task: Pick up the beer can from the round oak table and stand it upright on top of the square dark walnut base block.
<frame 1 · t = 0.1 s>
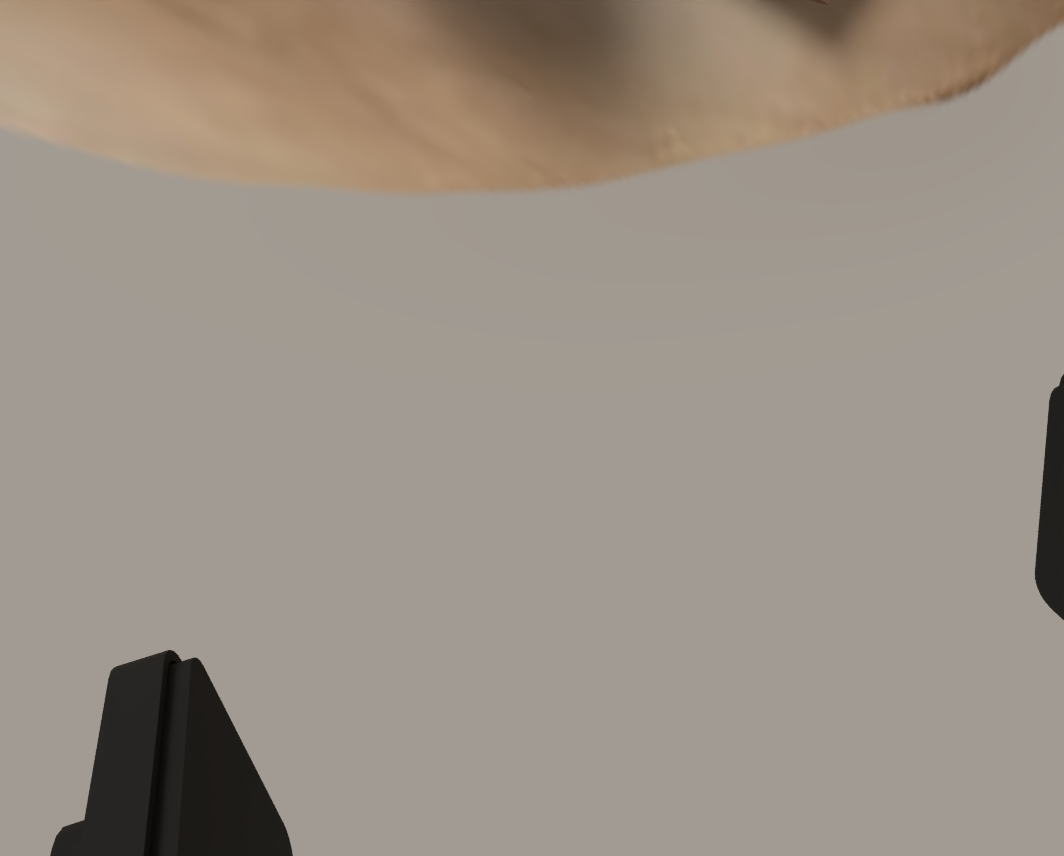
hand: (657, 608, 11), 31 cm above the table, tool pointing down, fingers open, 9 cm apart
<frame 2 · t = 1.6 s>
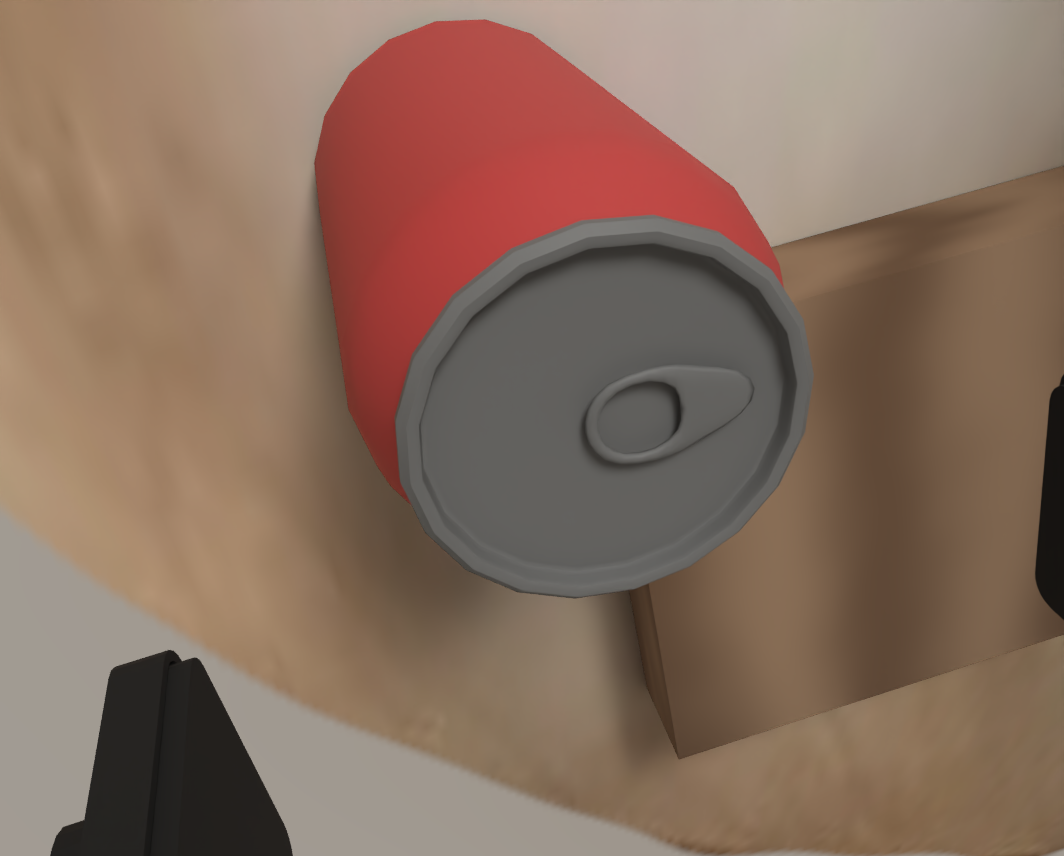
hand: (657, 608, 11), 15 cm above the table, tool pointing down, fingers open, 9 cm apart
walnut base: (842, 451, 30), on the table
beer can: (459, 166, 23), on the table
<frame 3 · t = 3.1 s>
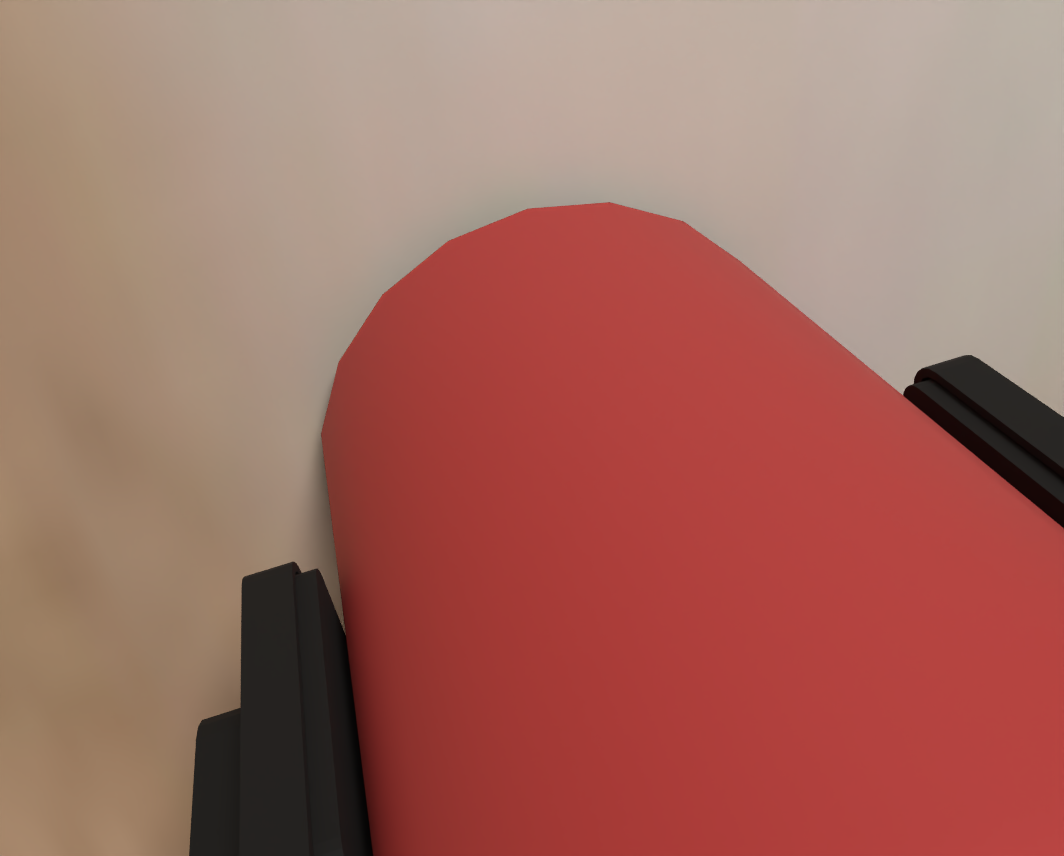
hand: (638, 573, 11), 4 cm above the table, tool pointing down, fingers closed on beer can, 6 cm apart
beer can: (550, 409, 15), on the table, touching gripper
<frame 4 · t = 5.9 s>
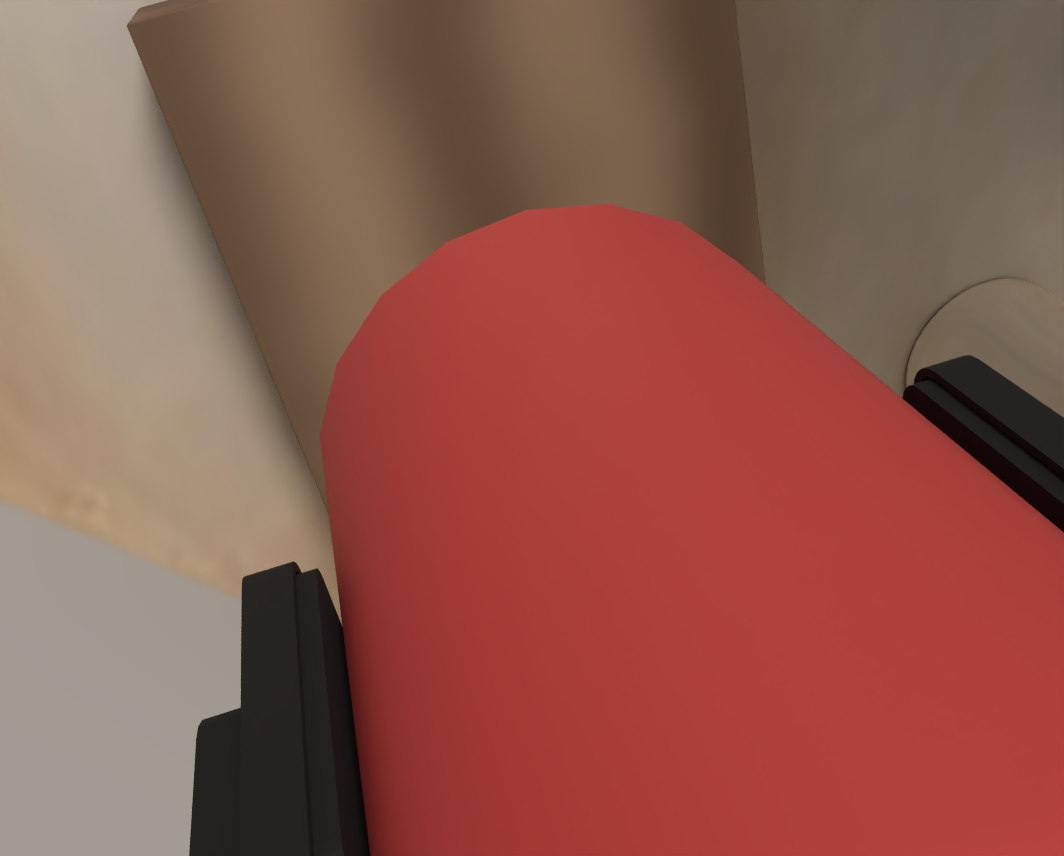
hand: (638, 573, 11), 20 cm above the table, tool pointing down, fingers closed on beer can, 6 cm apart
walnut base: (481, 195, 29), on the table
beer glass: (977, 354, 37), on the table
beer can: (548, 410, 15), point 16 cm above the table, touching gripper
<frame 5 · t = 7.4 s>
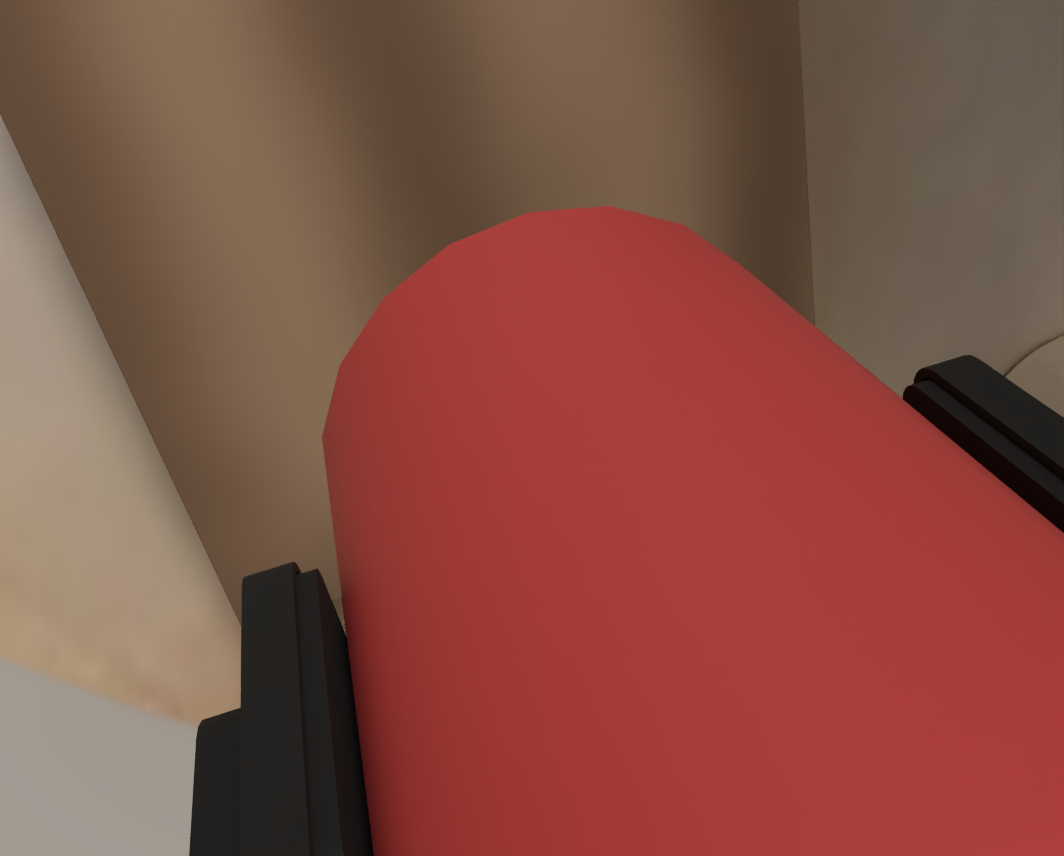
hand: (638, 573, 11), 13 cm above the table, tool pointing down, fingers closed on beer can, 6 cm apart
walnut base: (447, 211, 22), on the table
beer glass: (1057, 417, 30), on the table
beer can: (550, 412, 15), point 9 cm above the table, touching gripper
when the fingers open (8 cm above the table, at t = 8.8 s): beer can drops 1 cm, resting on walnut base.
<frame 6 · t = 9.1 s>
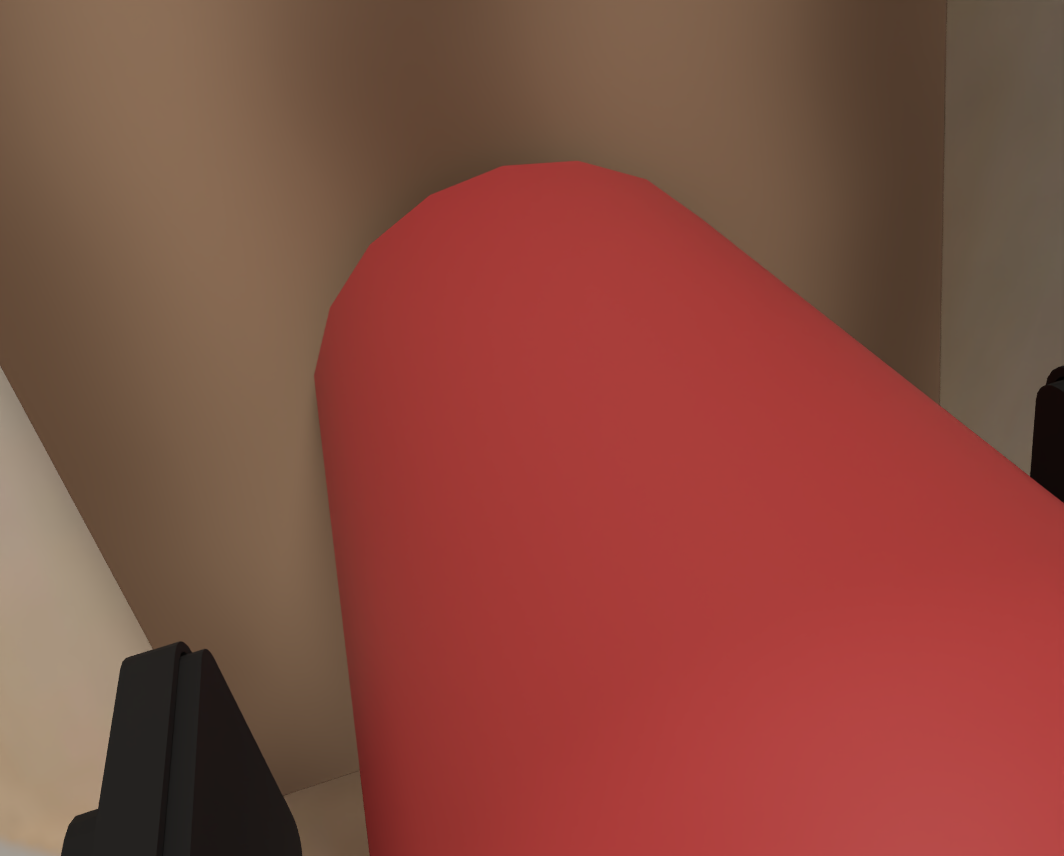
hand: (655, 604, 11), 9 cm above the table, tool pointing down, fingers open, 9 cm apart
walnut base: (490, 302, 18), on the table
beer can: (527, 359, 16), point 3 cm above the table, touching walnut base
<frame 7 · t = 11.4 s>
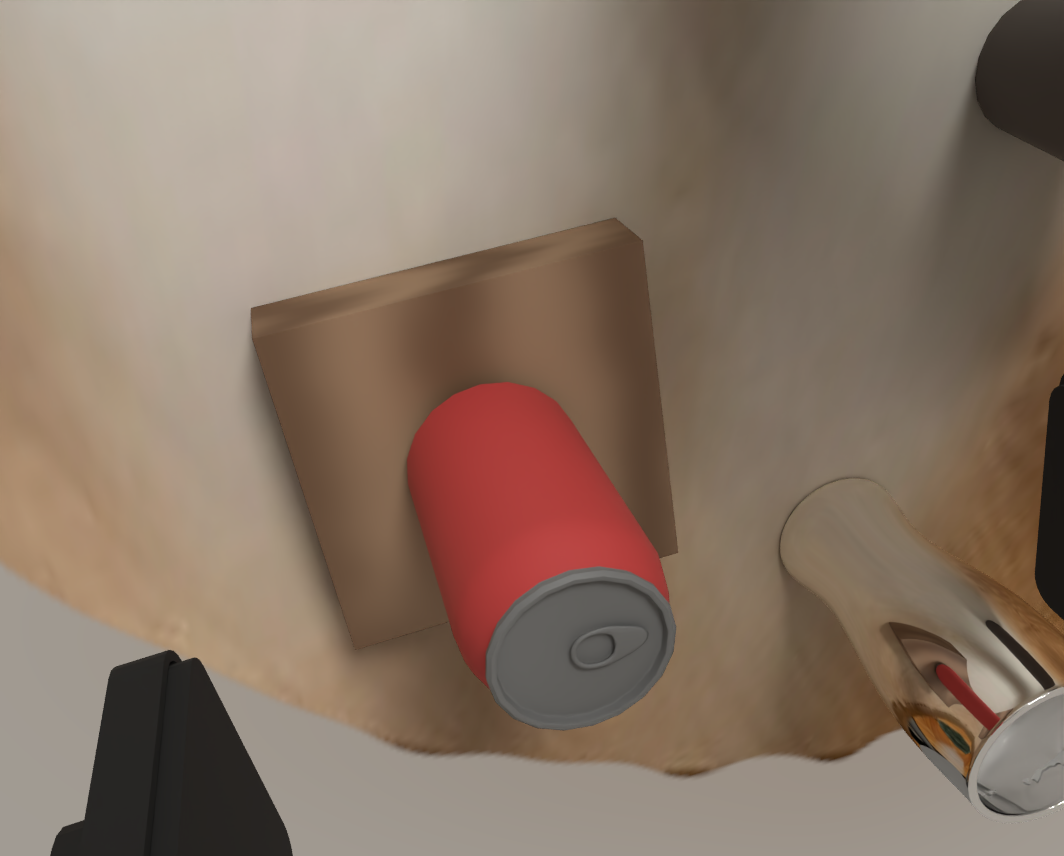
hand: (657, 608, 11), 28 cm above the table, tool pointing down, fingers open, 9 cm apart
coffee cup: (1031, 63, 41), on the table
walnut base: (473, 423, 41), on the table
beer glass: (834, 529, 49), on the table
beer can: (489, 451, 39), point 3 cm above the table, touching walnut base
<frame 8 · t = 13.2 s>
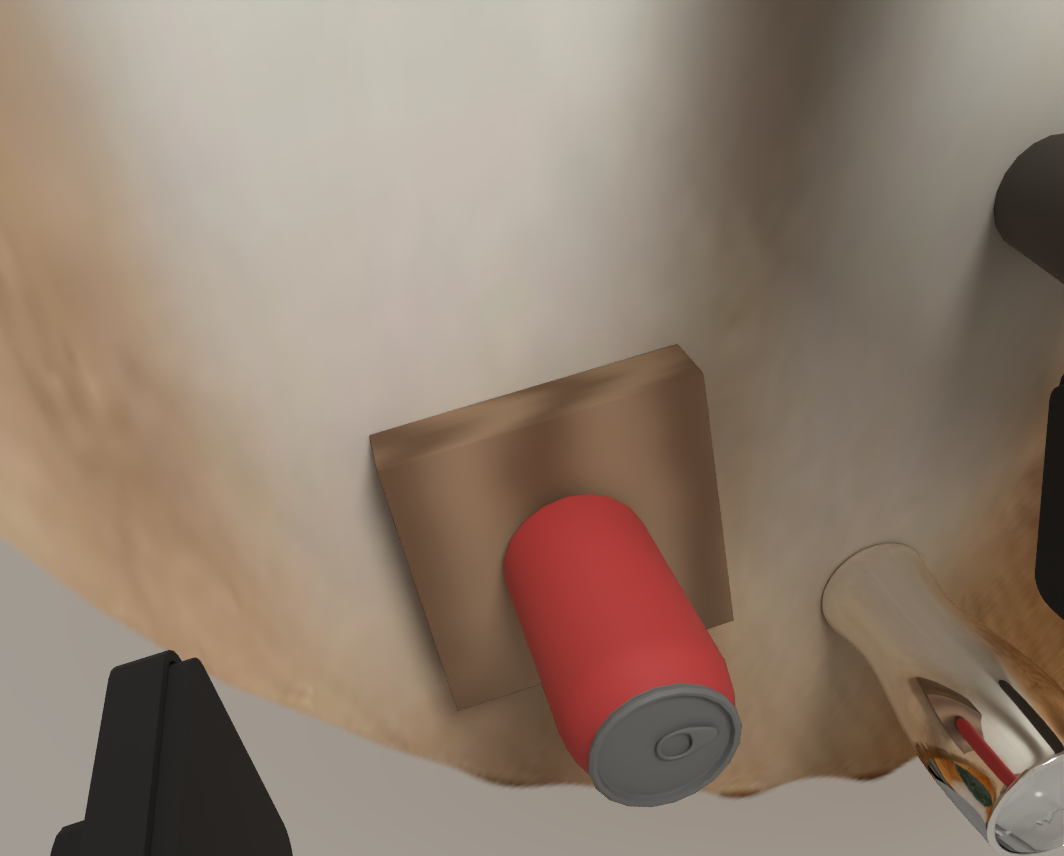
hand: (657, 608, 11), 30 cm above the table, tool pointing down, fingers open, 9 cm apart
coffee cup: (1044, 192, 46), on the table
walnut base: (555, 516, 48), on the table
beer glass: (870, 586, 55), on the table
beer can: (571, 547, 45), point 3 cm above the table, touching walnut base
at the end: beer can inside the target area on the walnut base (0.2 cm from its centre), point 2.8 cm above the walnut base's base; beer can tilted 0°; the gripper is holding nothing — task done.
